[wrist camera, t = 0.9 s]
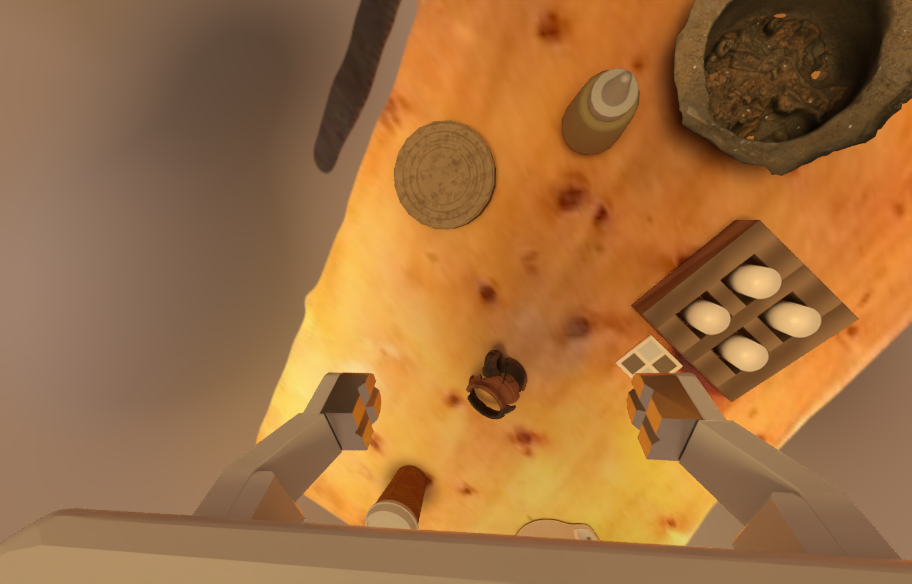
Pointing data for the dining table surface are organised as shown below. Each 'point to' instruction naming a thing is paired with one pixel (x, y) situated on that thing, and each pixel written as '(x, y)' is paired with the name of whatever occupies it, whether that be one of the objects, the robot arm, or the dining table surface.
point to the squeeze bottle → (601, 111)
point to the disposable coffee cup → (399, 501)
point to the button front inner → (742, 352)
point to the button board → (740, 306)
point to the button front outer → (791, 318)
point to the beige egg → (753, 281)
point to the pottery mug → (498, 384)
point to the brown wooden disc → (444, 175)
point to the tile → (648, 359)
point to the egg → (706, 316)
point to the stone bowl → (792, 75)
